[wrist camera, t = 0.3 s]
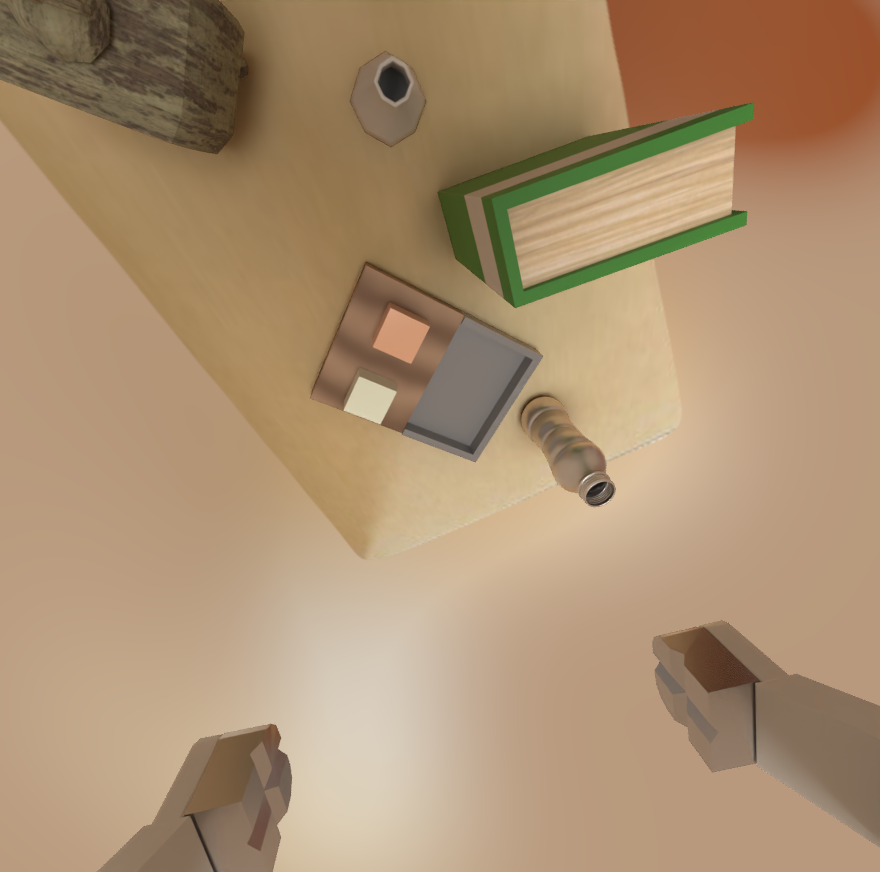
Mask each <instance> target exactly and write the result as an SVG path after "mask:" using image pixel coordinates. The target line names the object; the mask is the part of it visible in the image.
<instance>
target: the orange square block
mask: <svg viewBox="0 0 880 872" xmlns="http://www.w3.org/2000/svg"><path fill="white" fill-rule="evenodd" d="M429 328H430V326H429V324H428V321H427V320H426V319H424V318H422V317H420V316H418V315H416V314H414V313H412V312H409V311H407V310H405V309H403V308H401V307H399V306H397V305H395V304H393V303H391V302H389V303H388V306H387V308H386V310H385V312H384V314H383V317H382V319H381V321H380V323H379V325H378V328H377V330H376V332H375V334H374V336H373V338H372V344H373V347H374V348H376V349H378V350H380V351H383V352H385V353H387V354H390V355H392V356H394V357H396V358H399V359H401V360H403V361H405V362H408V363H410V364H411V363H412V361H413V359H414V357H415V355H416V354H417V352H418V350H419V348H420V346H421V344H422V342H423V340H424V338H425V336H426V334H427V332H428V330H429Z"/></svg>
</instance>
